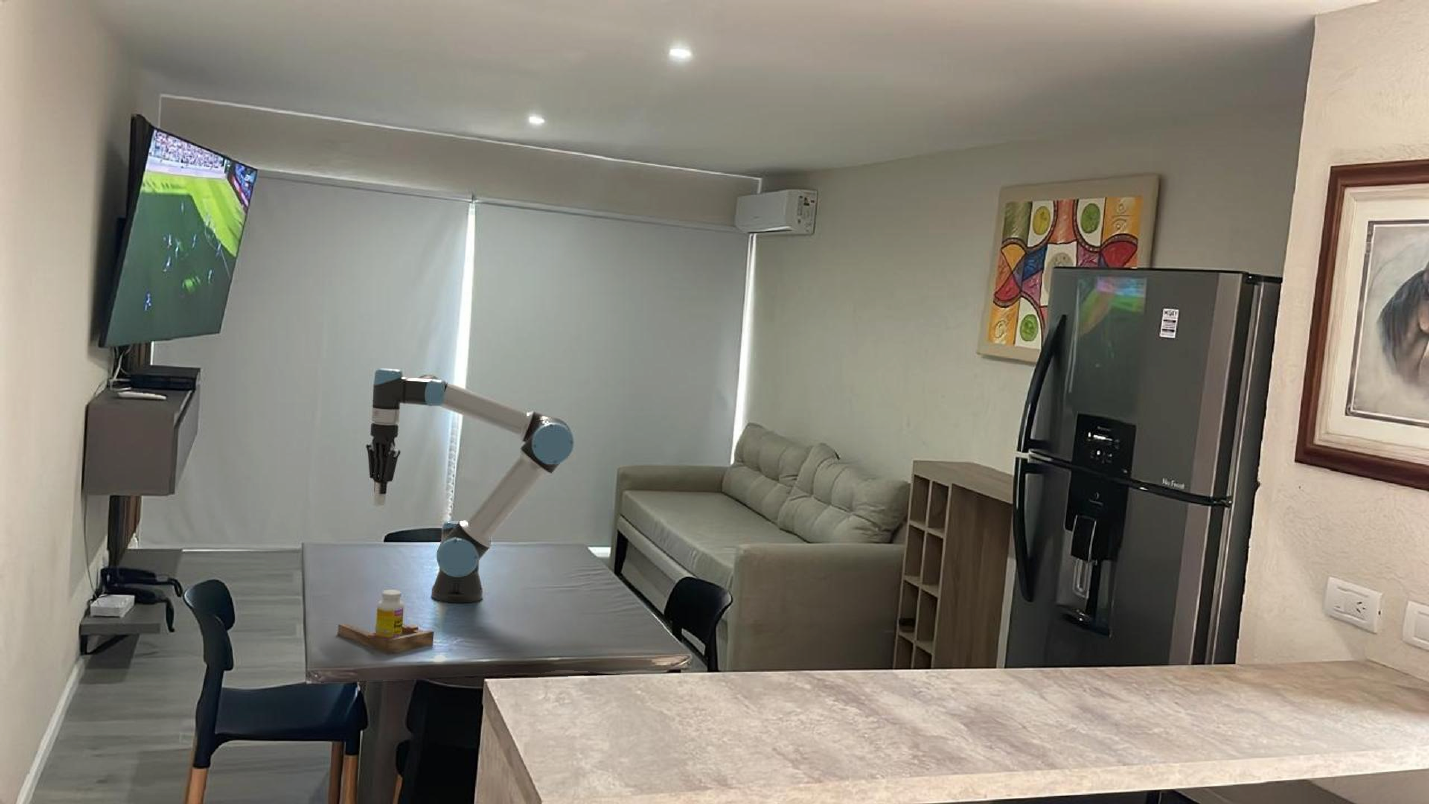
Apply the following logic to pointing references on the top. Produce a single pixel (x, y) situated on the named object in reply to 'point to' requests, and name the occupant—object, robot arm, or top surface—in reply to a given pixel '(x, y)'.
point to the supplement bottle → (390, 615)
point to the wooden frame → (393, 645)
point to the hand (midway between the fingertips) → (379, 504)
